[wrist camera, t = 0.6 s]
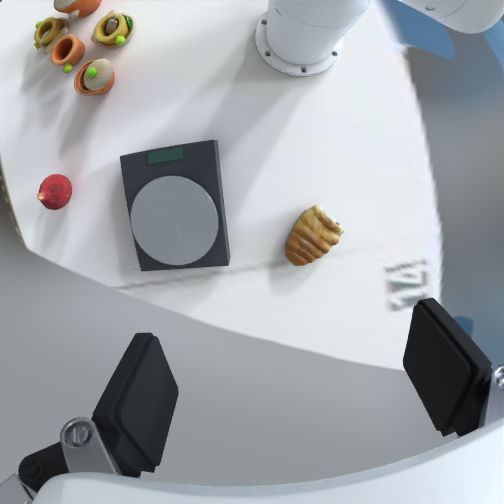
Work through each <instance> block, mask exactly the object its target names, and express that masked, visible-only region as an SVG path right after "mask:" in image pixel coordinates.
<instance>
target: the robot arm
mask: <svg viewBox="0 0 504 504" xmlns="http://www.w3.org/2000/svg"><path fill="white" fill-rule="evenodd" d="M398 1H400V2H402V3H404V4H406V5H408V6H410V7H412V8H414V9H416V10H418V11H420V12H422V13H424V14H426V15H427V16H429V17H431V18H433V19H435V20H437V21H438V22H440V23H442V24H444V25H446V26H447V27H450V28H452V29H454V30H456V31H459V32H463V33H469V34H470V33H471V34H474V33H479V32H483V31H485V30H487V29H489V28H490V27H492V26H493V25H494V24H495V23H496V22H497V21H498V20H499V19H500V18H501V16H502V15H503V14H504V0H398ZM369 3H370V0H269V6H268V12H267V13H265V14H264V15H263V16H262V18H261V19H260V20H259V22H258V24H257V26H256V30H255V42H256V46H257V49H258V51H259V53H260V54H261V56H262V57H263V58H264V60H265V61H266V62H267V63H269V64H270V65H271V66H272V67H274V68H276V69H277V70H279V71H281V72H284V73H287V74H290V75H295V76H311V75H316V74H319V73H322V72H324V71H326V70H327V69H329V68H330V67H331V66H332V65H333V64H334V63H335V62H336V61H337V59H338V58H339V56H340V53H341V50H342V37H343V36H344V35H345V34H346V33H347V32H348V30H349V29H350V28H351V27H352V26H353V25H354V24H355V23H356V21H357V20H358V19H359V18H360V17H361V16H362V14H363V13H364V12H365V11H366V9H367V7H368V6H369ZM263 23H265V25H263ZM266 54H269V55H270V56H266ZM332 54H334V56H332ZM302 70H304V71H305V72H302ZM491 365H492V363H491V362H490V361H489V359H488V358H487V357H486V355H484V353H483V352H482V351H481V350H480V348H479V347H478V346H477V345H476V344H475V342H474V341H473V340H472V339H471V338H470V337H469V336H468V334H467V333H466V332H465V331H464V330H463V329H462V328H461V327H460V325H459V324H458V323H457V322H456V321H455V320H454V319H453V318H452V317H451V316H450V315H449V314H448V313H447V312H446V310H445V309H444V308H443V307H442V306H441V305H440V304H439V303H438V302H437V301H436V300H435V299H434V298H427V299H423V300H419V301H418V303H417V305H415V306H414V308H413V314H412V320H411V325H410V330H409V335H408V340H407V344H406V349H405V353H404V357H403V366H404V369H405V370H406V372H407V374H408V376H409V378H410V380H411V381H412V383H413V385H414V387H415V389H416V391H417V393H418V395H419V397H420V398H421V400H422V402H423V404H424V406H425V408H426V410H427V412H428V414H429V416H430V418H431V420H432V422H433V424H434V426H435V428H436V430H438V431H441V433H442V435H443V437H444V436H446V435H449V434H451V433H453V432H455V431H456V433H457V435H458V437H457V439H455V440H453V441H451V442H449V443H446V444H444V445H441V446H439V447H436V448H434V449H431V450H429V451H426V452H424V453H421V454H418V455H416V456H413V457H410V458H407V459H404V460H401V461H398V462H395V463H391V464H388V465H385V466H381V467H377V468H374V469H370V470H366V471H362V472H357V473H354V474H349V475H344V476H339V477H333V478H328V479H322V480H316V481H308V482H300V483H292V484H282V485H269V486H268V485H266V486H240V487H239V486H238V487H237V486H234V487H233V486H232V487H231V486H202V485H189V484H178V483H168V482H159V481H153V480H145V479H141V478H140V475H141V471H145V472H152V473H154V470H155V467H156V466H159V465H160V462H161V459H162V455H163V450H164V446H165V443H166V439H167V435H168V431H169V427H170V424H171V420H172V416H173V413H174V409H175V405H176V401H177V397H178V387H177V384H176V382H175V379H174V377H173V375H172V372H171V370H170V368H169V365H168V362H167V360H166V357H165V355H164V353H163V350H162V347H161V345H160V342H159V339H158V338H157V337H156V336H154V335H153V334H152V333H136V334H135V336H134V337H133V339H132V341H131V343H130V344H129V346H128V348H127V350H126V351H125V353H124V355H123V357H122V359H121V361H120V363H119V364H118V366H117V368H116V370H115V372H114V373H113V375H112V377H111V379H110V381H109V383H108V385H107V387H106V389H105V391H104V393H103V394H102V396H101V398H100V400H99V402H98V404H97V406H96V408H95V410H94V412H93V416H92V419H91V420H90V419H89V418H85V417H78V418H74V419H72V420H70V421H69V422H67V423H66V424H65V425H64V427H63V428H62V430H61V433H60V442H58V443H56V444H54V445H51V446H49V447H47V448H45V449H42V450H40V451H38V452H35V453H33V454H31V455H28V456H27V457H25V458H24V459H23V460H22V461H21V463H20V465H19V470H18V471H19V475H17V474H15V473H14V474H13V475H12V476H10V477H9V478H8V479H7V480H5V481H4V482H3V483H2V484H0V504H504V364H503V365H499V366H498V367H496V368H495V369H494V370H492V368H491Z"/></svg>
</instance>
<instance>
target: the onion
mask: <svg viewBox="0 0 504 504" xmlns="http://www.w3.org/2000/svg"><path fill="white" fill-rule="evenodd" d="M71 195H72V186H71V182H70V181H69V180H68V179H67V178H66V177H65V176H63V175H60V174H53V175H50V176H49V177H47V178H46V179H45V180H44V181H43V182H42V184H41V185H40V189H39V194H38V195H37V198H38V199H39V200H40V201H41V203H42V204H43V205H44V206H45V207H46V208H48V209H51V210H57V209H60V208H62V207H64V206H65V205H66V204H67V203H68V202H69V200H70V197H71Z"/></svg>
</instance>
